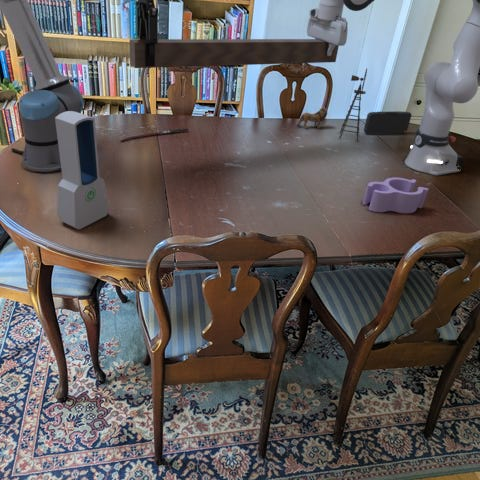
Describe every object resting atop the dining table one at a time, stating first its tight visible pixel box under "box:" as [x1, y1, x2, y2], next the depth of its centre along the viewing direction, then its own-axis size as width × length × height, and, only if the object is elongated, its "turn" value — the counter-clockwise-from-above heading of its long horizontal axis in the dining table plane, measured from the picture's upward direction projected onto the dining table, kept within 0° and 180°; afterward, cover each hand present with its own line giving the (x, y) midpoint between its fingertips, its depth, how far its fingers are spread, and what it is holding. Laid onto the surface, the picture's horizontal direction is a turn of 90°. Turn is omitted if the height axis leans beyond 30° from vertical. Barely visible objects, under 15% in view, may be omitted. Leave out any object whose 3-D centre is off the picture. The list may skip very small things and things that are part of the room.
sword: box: [120, 128, 189, 142], centre depth 190 cm, size 31×3×1 cm, turn 126°
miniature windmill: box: [339, 68, 368, 142], centre depth 203 cm, size 9×8×30 cm
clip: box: [362, 177, 429, 214], centre depth 156 cm, size 20×12×7 cm, turn 109°
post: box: [129, 38, 340, 69], centre depth 164 cm, size 80×5×8 cm, turn 119°
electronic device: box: [55, 111, 110, 231], centre depth 124 cm, size 12×8×30 cm, turn 148°
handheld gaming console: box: [363, 110, 413, 135], centre depth 217 cm, size 23×3×10 cm, turn 108°
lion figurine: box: [296, 107, 328, 130], centre depth 215 cm, size 15×5×9 cm, turn 110°
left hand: (147, 63), depth 149 cm, fingers closed on post, 5 cm apart
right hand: (323, 53), depth 180 cm, fingers closed on post, 5 cm apart
